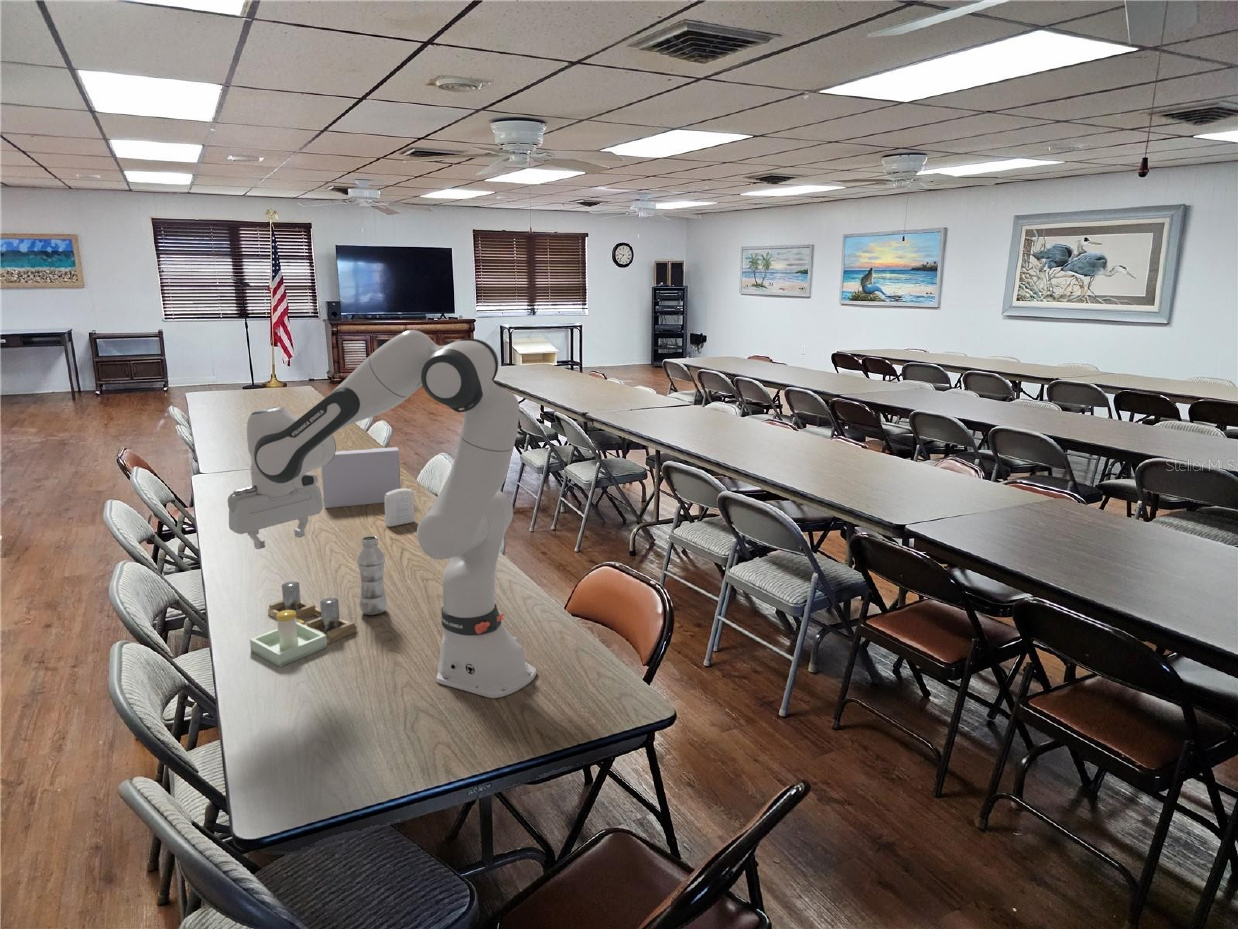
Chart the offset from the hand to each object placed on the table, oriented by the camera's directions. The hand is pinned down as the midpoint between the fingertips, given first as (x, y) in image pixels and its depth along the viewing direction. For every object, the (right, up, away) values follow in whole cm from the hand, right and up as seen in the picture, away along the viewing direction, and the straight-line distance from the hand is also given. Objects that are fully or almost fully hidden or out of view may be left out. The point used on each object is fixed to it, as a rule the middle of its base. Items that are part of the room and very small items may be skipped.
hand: (280, 542), depth 167 cm
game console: (-21, +3, +116) cm, 118 cm away
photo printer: (-1, -3, +94) cm, 94 cm away
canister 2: (+6, -23, +15) cm, 28 cm away
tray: (-1, -25, +6) cm, 26 cm away
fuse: (-1, -24, +6) cm, 25 cm away
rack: (-1, -22, +19) cm, 29 cm away
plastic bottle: (+12, -21, +26) cm, 35 cm away
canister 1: (-8, -21, +24) cm, 32 cm away
